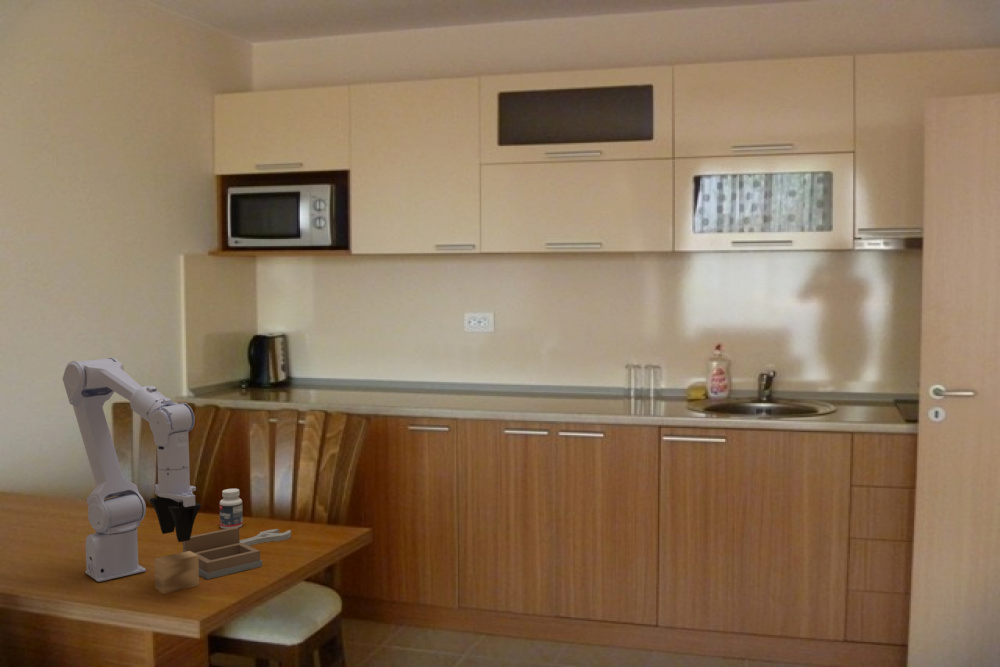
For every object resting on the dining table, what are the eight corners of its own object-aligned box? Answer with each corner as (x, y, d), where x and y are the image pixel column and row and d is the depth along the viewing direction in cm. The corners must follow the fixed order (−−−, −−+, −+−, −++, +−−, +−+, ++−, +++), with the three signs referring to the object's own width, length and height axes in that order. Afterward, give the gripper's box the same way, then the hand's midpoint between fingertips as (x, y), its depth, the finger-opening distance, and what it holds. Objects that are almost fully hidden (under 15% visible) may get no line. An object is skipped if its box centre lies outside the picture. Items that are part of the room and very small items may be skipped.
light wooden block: (163, 594, 168) (162, 563, 168) (155, 589, 171) (154, 558, 171) (199, 585, 173) (198, 555, 172) (190, 580, 176) (189, 550, 175)
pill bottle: (215, 527, 214) (214, 491, 213) (232, 522, 218) (232, 486, 217) (230, 530, 211) (229, 493, 210) (247, 525, 215) (246, 489, 215)
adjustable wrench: (190, 564, 187) (189, 556, 187) (177, 557, 192) (177, 549, 192) (294, 539, 205) (294, 531, 204) (280, 533, 209) (280, 526, 209)
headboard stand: (206, 579, 176) (206, 549, 176) (182, 565, 185) (181, 537, 184) (262, 566, 184) (261, 537, 184) (236, 553, 193) (235, 526, 192)
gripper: (209, 469, 168) (211, 540, 169) (178, 459, 179) (180, 525, 179) (173, 475, 163) (175, 548, 164) (143, 464, 174) (145, 532, 175)
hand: (175, 536), depth 171 cm, fingers open, 7 cm apart
